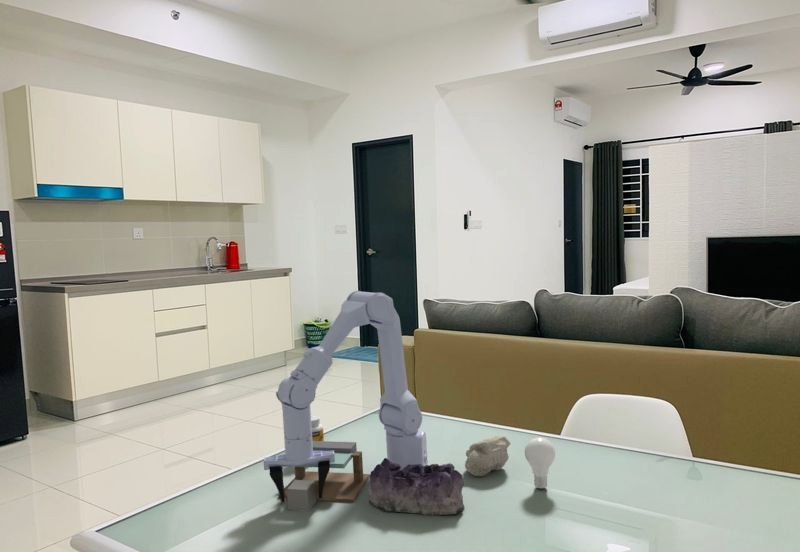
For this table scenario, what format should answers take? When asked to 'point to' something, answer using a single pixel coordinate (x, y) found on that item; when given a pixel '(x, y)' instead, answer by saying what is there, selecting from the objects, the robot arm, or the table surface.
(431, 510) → the geode
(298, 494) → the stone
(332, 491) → the frame
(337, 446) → the trapdoor
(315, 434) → the supplement bottle
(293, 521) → the table surface
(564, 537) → the table surface
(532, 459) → the lightbulb
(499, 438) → the fossil replica
